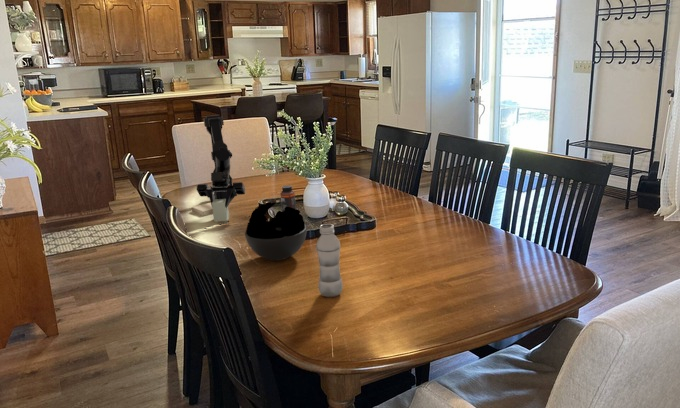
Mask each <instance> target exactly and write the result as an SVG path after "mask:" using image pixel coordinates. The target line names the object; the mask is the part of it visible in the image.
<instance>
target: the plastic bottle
mask: <svg viewBox="0 0 680 408" xmlns="http://www.w3.org/2000/svg"><path fill="white" fill-rule="evenodd" d="M319 234H320V235H319V238H318V239H317V241H316V245H315V249H316V251H317V258H318V264H319V265H318V267H319V278H318V291H319V293H320V294H321V296H323V297H326V298H333V297H337V296H339V295H340V294H341V293H342V291H343V286H344V285H343V279H342V276H341V269H340V252H341V242H340V240H339V239H338V237H337V236H336V235H335V227H334V224H331V223H326V224H324V223H323V224H321V225H319Z"/></svg>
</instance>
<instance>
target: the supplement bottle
mask: <svg viewBox="0 0 680 408" xmlns="http://www.w3.org/2000/svg"><path fill="white" fill-rule="evenodd" d="M281 190H282V191H281V192H280V202H281V203H280V204H281V212H282V211H286V210H285V208H286V207H291V208H294V209H297V203H296V193H295V191H294V190H293V186H292V185H289V184H288V185H283V186H282V188H281Z"/></svg>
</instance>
